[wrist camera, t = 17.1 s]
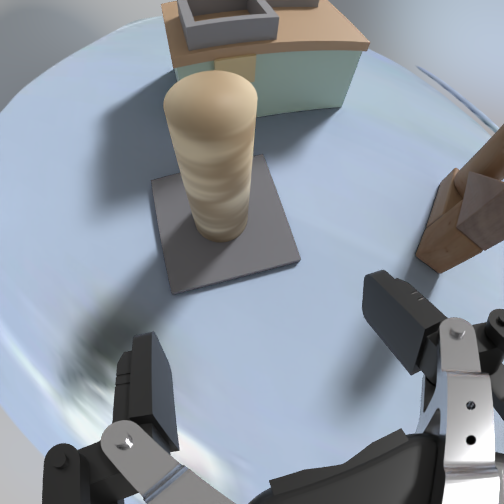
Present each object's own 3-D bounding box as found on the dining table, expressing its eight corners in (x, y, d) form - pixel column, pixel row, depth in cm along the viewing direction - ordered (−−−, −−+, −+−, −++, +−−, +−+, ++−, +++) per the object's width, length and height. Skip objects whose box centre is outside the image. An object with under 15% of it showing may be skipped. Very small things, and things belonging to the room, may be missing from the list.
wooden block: (413, 256, 27) (547, 155, 10) (439, 182, 31) (531, 78, 13) (439, 276, 27) (579, 194, 10) (462, 200, 30) (559, 108, 13)
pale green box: (186, 135, 31) (167, 35, 19) (171, 67, 34) (158, -14, 22) (345, 110, 33) (378, 24, 21) (305, 49, 37) (320, -25, 25)
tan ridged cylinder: (200, 248, 26) (169, 142, 13) (189, 201, 27) (159, 80, 14) (254, 234, 27) (270, 121, 13) (239, 189, 28) (243, 64, 15)
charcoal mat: (173, 294, 25) (171, 293, 25) (152, 183, 29) (151, 180, 28) (299, 261, 27) (300, 259, 26) (262, 157, 30) (262, 154, 29)
